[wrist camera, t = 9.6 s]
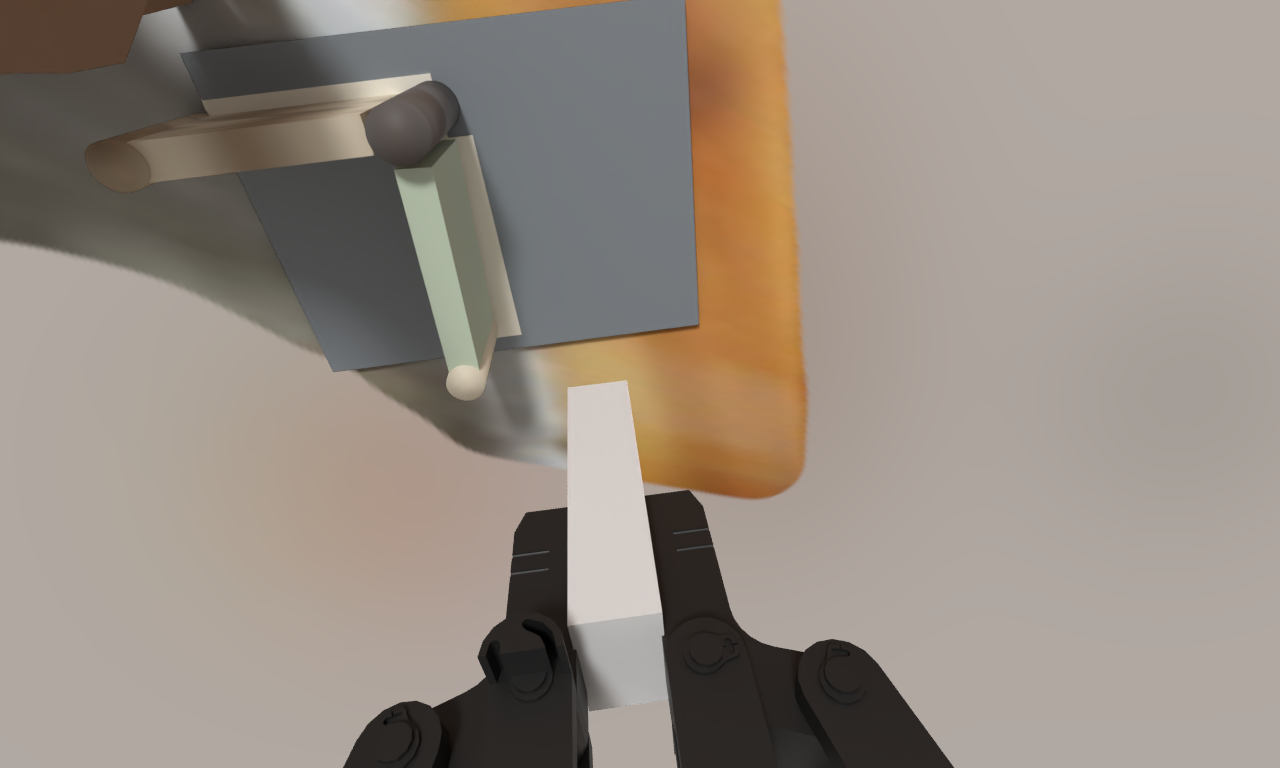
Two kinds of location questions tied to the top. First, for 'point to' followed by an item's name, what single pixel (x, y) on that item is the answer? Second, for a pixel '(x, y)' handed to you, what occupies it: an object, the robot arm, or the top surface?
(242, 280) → the top surface
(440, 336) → the pale green flat piece
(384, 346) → the card
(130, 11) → the toy
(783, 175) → the top surface
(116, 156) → the fixed fence section
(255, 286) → the top surface
